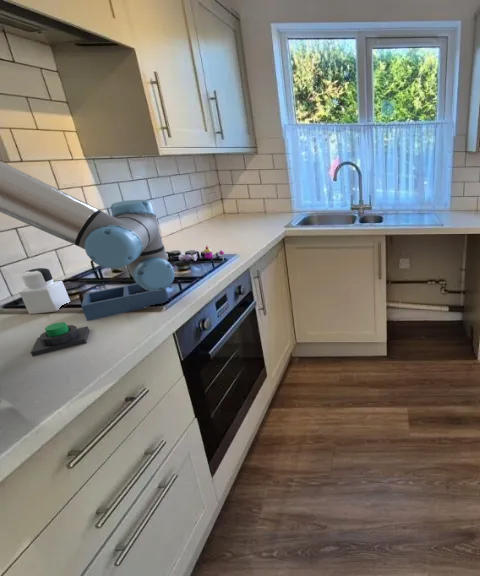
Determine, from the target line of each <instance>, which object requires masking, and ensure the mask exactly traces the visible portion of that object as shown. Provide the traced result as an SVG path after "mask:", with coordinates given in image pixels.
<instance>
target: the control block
mask: <svg viewBox="0 0 480 576" xmlns="http://www.w3.org/2000/svg"><path fill="white" fill-rule="evenodd" d="M67 326H68V329H69V331H68V332H67V333H64V334H62V335H59V336H54V337H48V335H47V333H46V331H44V332H42V333H41V334H40V335H39V337H37V338H36V340H35V343H34V345H33V347H32V348H31V350H30V354H31V356H32V357H36V356H41V355H45V354H47V353H52V352H56V351H61V350H65V349H68V348H72V347H76V346H80V345H84V344H87V342H88V337H89V334H90V328H89V326H87V325H86V326H83V327H77V325H73V324H67Z"/></svg>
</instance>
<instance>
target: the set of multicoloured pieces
mask: <svg viewBox="0 0 480 576" xmlns="http://www.w3.org/2000/svg"><path fill="white" fill-rule="evenodd" d="M218 252H219V254H220V255H221V258H222V262H224V261H225V259H224V255H225V251H224V250H219V251H218ZM203 253H204V257H205V259H207V260H208V259H209V260H210V259H212V258H213V257H214V256H213V251H212V249H211V248H209V246H205V249H204V251H203ZM197 257H198V256H197V255H196V253H193V254H192V255H191V254H184V255H182V254H179V255H178V260H179V262H183V261H185V262H191V261H197Z"/></svg>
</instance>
